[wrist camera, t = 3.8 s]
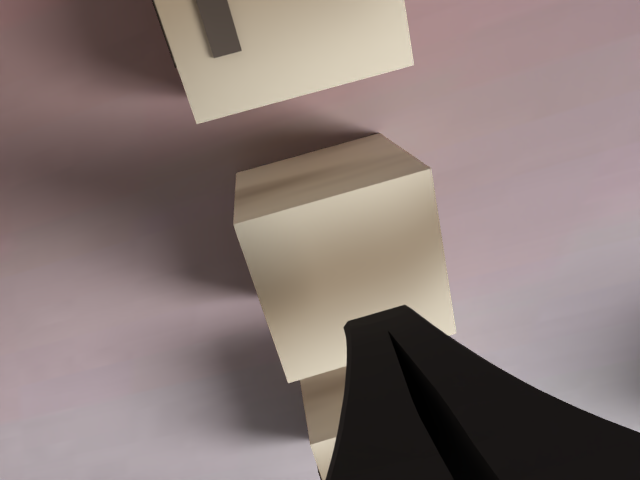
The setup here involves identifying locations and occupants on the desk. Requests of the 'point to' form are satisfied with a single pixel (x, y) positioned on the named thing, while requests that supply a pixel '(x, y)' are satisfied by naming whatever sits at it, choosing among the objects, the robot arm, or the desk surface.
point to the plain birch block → (340, 246)
